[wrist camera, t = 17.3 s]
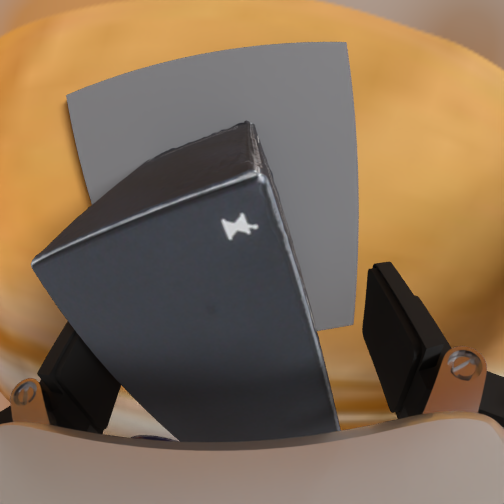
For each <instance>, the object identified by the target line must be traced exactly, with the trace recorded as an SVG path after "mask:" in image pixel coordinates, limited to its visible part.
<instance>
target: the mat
mask: <svg viewBox="0 0 504 504" xmlns="http://www.w3.org/2000/svg"><path fill="white" fill-rule="evenodd" d="M66 97H67V103H68V108H69V114H70V119H71V124H72V129H73V133H74V138H75V142H76V147H77V151H78V155H79V159H80V163H81V167H82V171H83V175H84V178H85V182H86V186H87V189H88V193H89V196H90V200H91V203H92V205H93V204H94V203H95V202H96V201H97V200H99V199H100V198H101V197H102V196H103V195H104V194H106V193H107V192H108V191H109V190H111V189H112V188H113V187H114V186H115V185H117V184H118V183H119V182H120V181H122V180H123V179H124V178H125V177H127V176H128V175H129V174H131V173H132V172H133V171H134V170H136V169H137V168H138V167H139V166H141V165H142V164H143V163H144V162H146V161H147V160H150V159H152V158H154V157H155V156H157V155H159V154H161V153H163V152H165V151H167V150H170V149H171V148H178V147H180V146H183V145H185V144H187V143H188V142H193V141H196V140H198V139H201V138H203V137H207V136H209V135H211V134H212V133H218V132H219V131H220V130H223V129H224V130H226V129H229V128H231V127H233V126H234V125H236V124H238V123H244V121H246V120H247V121H249V122H251V123H254V124H255V127H256V131H257V134H258V137H259V139H260V142H261V145H262V148H263V151H264V154H265V156H266V159H267V162H268V165H269V168H270V170H271V171H272V173H273V178H274V183H275V185H276V187H277V191H278V192H279V197H280V202H281V205H282V208H283V211H284V215H285V218H286V221H287V224H288V228H289V231H290V234H291V238H292V240H293V245H294V248H295V252H296V256H297V259H298V263H299V266H300V269H301V273H302V277H303V280H304V284H305V288H306V291H307V295H308V299H309V303H310V306H311V309H312V314H313V318H314V322H315V326H316V329H317V331H320V330H326V329H332V328H338V327H343V326H349V325H353V322H354V310H355V297H356V281H357V261H358V219H359V203H358V161H357V140H356V125H355V112H354V101H353V91H352V82H351V73H350V65H349V58H348V50H347V44H346V42H303V43H284V44H271V45H261V46H251V47H243V48H236V49H229V50H222V51H216V52H211V53H205V54H200V55H195V56H190V57H185V58H181V59H176V60H172V61H168V62H164V63H160V64H156V65H152V66H149V67H145V68H142V69H138V70H135V71H131V72H128V73H125V74H122V75H119V76H116V77H113V78H110V79H107V80H104V81H101V82H99V83H96V84H93V85H90V86H88V87H85V88H83V89H80V90H78V91H75V92H73V93H70V94H68V95H66Z"/></svg>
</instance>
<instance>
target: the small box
mask: <svg viewBox="0 0 504 504" xmlns="http://www.w3.org/2000/svg"><path fill="white" fill-rule="evenodd" d="M31 267H32V269H33V271H34V272H35V274H36V275H37V277H38V278H39V280H40V281H41V283H42V285H43V286H44V288H45V289H46V290H47V292H48V293H49V295H50V297H51V298H52V300H53V301H54V302H55V304H56V305H57V307H58V308H59V309H60V311H61V312H62V314H63V315H64V316H65V318H66V319H67V320H68V322H69V323H70V324H71V326H72V327H73V328H74V330H75V331H76V332H77V333H78V335H79V336H80V337H81V338H82V340H83V341H84V342H85V343H86V345H87V346H88V347H89V348H90V350H91V351H92V352H93V353H94V354H95V356H96V357H97V358H98V359H99V360H100V362H101V363H102V364H103V365H104V366H105V367H106V368H107V370H108V371H109V372H110V373H111V374H112V375H113V376H114V377H115V379H116V380H117V381H118V382H119V383H120V384H121V385H122V386H123V387H124V388H125V389H126V390H127V391H128V392H129V393H130V395H131V396H132V397H133V398H134V399H135V400H136V401H137V402H138V403H139V404H140V405H141V406H142V407H143V408H144V409H145V410H146V411H147V412H149V413H150V414H151V415H152V416H153V417H154V418H155V419H156V420H157V421H158V422H159V423H160V424H161V425H162V426H163V427H164V428H166V429H167V430H168V431H169V432H170V433H171V434H172V435H173V436H175V437H176V438H177V439H178V440H179V441H180V442H244V441H261V440H274V439H285V438H294V437H303V436H310V435H318V434H324V433H330V432H336V431H341V430H340V425H339V421H338V417H337V412H336V408H335V404H334V399H333V394H332V390H331V386H330V382H329V378H328V374H327V370H326V366H325V362H324V357H323V354H322V349H321V346H320V342H319V337H318V334H317V329H316V326H315V322H314V318H313V314H312V309H311V306H310V303H309V299H308V295H307V291H306V288H305V284H304V280H303V277H302V273H301V269H300V266H299V263H298V259H297V256H296V252H295V248H294V245H293V240H292V238H291V234H290V231H289V228H288V224H287V221H286V218H285V215H284V211H283V208H282V205H281V202H280V197H279V192H278V191H277V187H276V185H275V183H274V178H273V173H272V171H271V170H270V168H269V165H268V162H267V159H266V156H265V154H264V151H263V148H262V145H261V142H260V139H259V137H258V134H257V131H256V127H255V124H254V123H251V122H249V121H247V120H246V121H244V123H238V124H236V125H234V126H233V127H231V128H229V129H226V130H224V129H223V130H220V131H219V132H218V133H212V134H211V135H209V136H207V137H203V138H201V139H198V140H196V141H193V142H188V143H187V144H185V145H183V146H180V147H178V148H171V149H170V150H167V151H165V152H163V153H161V154H159V155H157V156H155V157H154V158H152V159H150V160H147V161H146V162H144V163H143V164H142V165H141V166H139V167H138V168H137V169H136V170H134V171H133V172H132V173H131V174H129V175H128V176H127V177H125V178H124V179H123V180H122V181H120V182H119V183H118V184H117V185H115V186H114V187H113V188H112V189H111V190H109V191H108V192H107V193H106V194H104V195H103V196H102V197H101V198H100V199H99V200H97V201H96V202H95V203H94V204H93V205H92V206H90V207H89V208H88V209H87V210H86V211H85V212H84V213H82V214H81V215H80V216H79V217H77V218H76V219H75V220H74V221H73V222H72V223H71V224H70V225H69V226H68V227H67V228H66V229H65V230H64V231H63V232H62V233H60V234H59V235H58V236H57V237H56V238H55V239H54V240H53V241H52V242H51V243H50V244H49V245H48V246H47V247H46V248H45V249H44V250H43V251H42V252H41V253H39V254H38V255H36V256H35V258H34V259H33V260H32V263H31Z"/></svg>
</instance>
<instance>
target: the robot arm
mask: <svg viewBox="0 0 504 504" xmlns="http://www.w3.org/2000/svg"><path fill="white" fill-rule="evenodd" d="M362 330H363V337H364V340H365V342H366V345H367V348H368V350H369V353H370V356H371V358H372V361H373V364H374V366H375V369H376V372H377V375H378V377H379V380H380V383H381V386H382V389H383V391H384V394H385V397H386V400H387V403H388V406H389V409H390V411H391V412H392V413H393V412H396V415H397V418H398V419H397V420H392V421H387V422H383V423H378V424H374V425H369V426H364V427H359V428H354V429H348V430H342V431H336V432H330V433H324V434H318V435H310V436H303V437H294V438H285V439H274V440H261V441H244V442H175V441H158V440H146V439H135V438H126V437H118V436H110V435H103V430H104V429H106V428H107V426H108V423H109V420H110V417H111V414H112V411H113V408H114V405H115V401H116V398H117V396H118V393H119V390H120V387H121V384H120V383H119V382H118V381H117V380H116V379H115V377H114V376H113V375H112V374H111V373H110V372H109V371H108V370H107V368H106V367H105V366H104V365H103V364H102V363H101V362H100V360H99V359H98V358H97V357H96V356H95V354H94V353H93V352H92V351H91V350H90V348H89V347H88V346H87V345H86V343H85V342H84V341H83V340H82V338H81V337H80V336H79V335H78V333H77V332H76V331H75V330H74V328H73V327H72V326H71V324H70V323H69V322H67V324H66V325H65V327H64V328H63V330H62V332H61V333H60V335H59V337H58V338H57V340H56V342H55V343H54V345H53V347H52V348H51V350H50V352H49V353H48V355H47V357H46V359H45V360H44V362H43V364H42V366H41V368H40V369H39V371H38V373H37V374H38V376H39V377H40V378H41V381H40V383H39V382H38V381H37V380H36V379H33V378H28V379H25V380H23V381H21V382H20V383H18V384H17V385H16V386H15V388H14V389H13V391H12V393H11V396H10V403H11V406H9V407H8V408H6V409H4V410H3V411H1V412H0V504H504V377H502V376H499V375H496V374H493V373H491V372H488V371H487V364H486V361H485V359H484V357H483V356H482V355H481V354H480V353H479V352H478V351H477V350H475V349H473V348H470V347H465V346H458V347H454V348H451V347H450V345H449V343H448V342H447V340H446V339H445V337H444V335H443V334H442V332H441V330H440V329H439V327H438V326H437V324H436V323H435V321H434V319H433V318H432V316H431V315H430V313H429V312H428V310H427V309H426V307H425V306H424V304H423V303H422V301H421V300H420V298H419V297H418V296H414V295H413V293H412V292H411V290H410V289H409V287H408V286H407V284H406V283H405V281H404V280H403V279H402V277H401V276H400V274H399V273H398V271H397V270H396V269H395V267H394V266H393V264H392V263H391V262H383V263H376V264H374V265H373V268H372V269H369V270H368V277H367V290H366V300H365V310H364V319H363V328H362Z"/></svg>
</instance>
